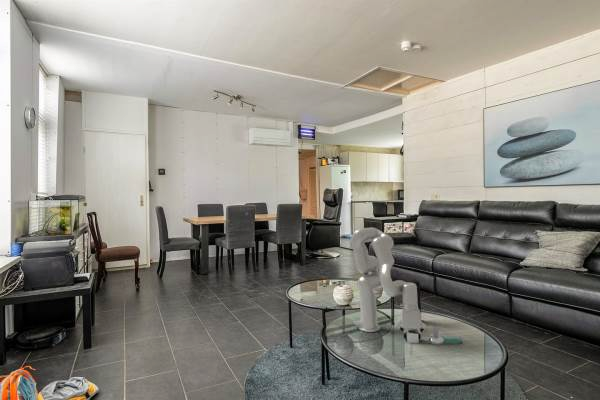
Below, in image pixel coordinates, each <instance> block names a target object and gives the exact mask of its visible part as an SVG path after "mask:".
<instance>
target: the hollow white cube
mask: <svg viewBox="0 0 600 400" xmlns="http://www.w3.org/2000/svg"><path fill="white" fill-rule="evenodd" d="M406 334H407V341H406V342H407V344H420V341H419V339H418V330H417V329H407V330H406Z"/></svg>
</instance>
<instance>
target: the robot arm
mask: <svg viewBox="0 0 600 400" xmlns="http://www.w3.org/2000/svg"><path fill="white" fill-rule="evenodd" d="M370 242H371V245H372V249H373V250H374V255H375V256H374V255H369V250H368V248H367V246H366V244H365V243H370ZM350 243H351V247H352V250H353V254H354V259H355V260H354V261H355V265H356V269H357V271H358V273H360V274H365V275H362V276H361V277H359V278H358V280H357V289H358V292H359V293H358V294H359V307H360V319H359V320H353V324H354V325H355V326H358V329H359V330H360V331H362V332H366V333H374V332H378V331H380V330H381V326H380V325H379V324H378V314H377V313H378V311H377V310H378V309H377V298H376V294H375V293H374V291H375V290H378V289H380V288H382V289H383V291H384V294H386V295H387V296H388V297H391V298H394V297H397V296H399V295H402V303H400V307H402V308H401V315H400V316H401V317H400V319H401V320H400V321H399V322H398V323H397V324H396V327H397V328H398V329H399V330H400V331H402V333H403V338H404V339H405V341H406V342H407V334H406V330H407V329H410V330H417V332H418V339H419V342H421V340H422V336H421V334H422V333H423V332H424V331H425V330H426V329H427V327H428V326H427V325H426V324H425V322H424V323H423V322H422V321H421V319H422V313H421V314H420V310H419V309H418V302H417V286H416V284H414V283H409V282H408V281H405V280H401V279H397V280H393V279H392V277H391V270H392V267H393V265H394V264H395V259H394V256H393V255H392V254H393V253H392V252H391V249H393V248H394V245H395V243H394V240H393V238H392V237H391V236H390V235H388V234H387V233H385V232H383V231H381V230H380V229H378V228H376V227H364V228H359V229H356V230H355V231H353V233H352V234H351V237H350ZM367 273H368V274H367Z"/></svg>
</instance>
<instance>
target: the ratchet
mask: <svg viewBox="0 0 600 400" xmlns="http://www.w3.org/2000/svg"><path fill="white" fill-rule="evenodd" d="M432 331H433V332H432V333H433V334H428V335H427V342H428V344H430V345H434V346H442V345H444V344H447V345H448V344H449V345H451V344H452V345H460V344H463V339H462V337H461V336H445V335H444V336H443V335H440V334H439V329H438V327H432Z"/></svg>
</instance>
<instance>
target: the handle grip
mask: <svg viewBox="0 0 600 400" xmlns="http://www.w3.org/2000/svg"><path fill="white" fill-rule="evenodd" d="M407 282H409V283H414V284H416V286H417V302H418V309H419V310H420V314H421V315H422V305H421V292H420V291H421V289H420V288H421V286H420V280H418V279H415V278H414V279H413V278H412V279H408V280H407ZM421 321H422V322H423V323H424V324H425V321H424V320H423V319H422V318H421Z"/></svg>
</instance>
